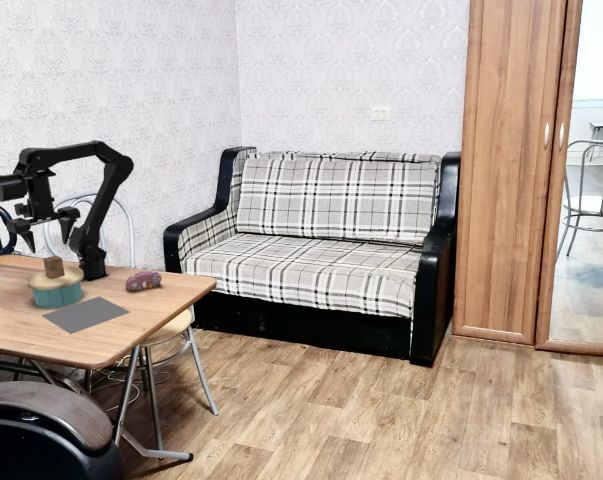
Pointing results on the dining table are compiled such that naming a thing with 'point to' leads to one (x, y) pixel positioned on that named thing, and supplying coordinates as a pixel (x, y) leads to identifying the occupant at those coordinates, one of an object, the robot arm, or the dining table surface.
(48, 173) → the robot arm
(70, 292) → the bowl
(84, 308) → the mat
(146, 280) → the purple toy car
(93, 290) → the dining table surface
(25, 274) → the dining table surface
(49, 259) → the lid
